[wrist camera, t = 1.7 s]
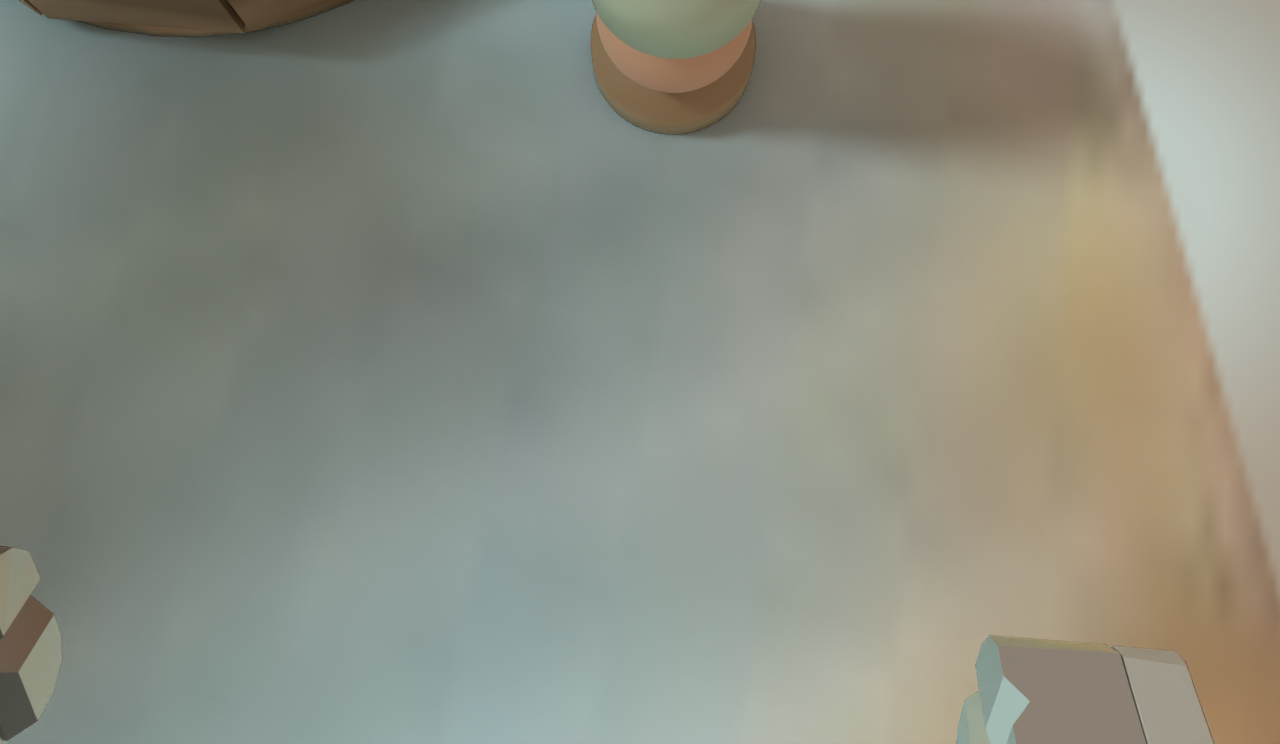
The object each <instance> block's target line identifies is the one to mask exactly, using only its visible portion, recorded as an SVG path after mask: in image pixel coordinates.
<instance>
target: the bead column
mask: <svg viewBox="0 0 1280 744" xmlns="http://www.w3.org/2000/svg"><path fill="white" fill-rule="evenodd" d="M592 2H593V5H594V7H595V10H596V15H595V18H594V22H593V25H592V31H591V52H592V61H593V70H594V74H595V78H596V82H597V84H598V87H599V89H600V91H601V93H602V95H603V96H604V98H605V100H606V101H607V102H608V104H609V105H610V106H611V107H612V108H613V109H614V110H615V111H616V112H617V113H618V114H619V115H620V116H621V117H623V118H624V119H625V120H626V121H628V122H630V123H632V124H633V125H635V126H637V127H640V128H642V129H644V130H648V131H651V132H655V133H661V134H684V133H690V132H694V131H698V130H700V129H703V128H706V127H708V126H710V125H712V124H713V123H715V122H717V121H718V120H720V119H721V118H722V117H724V116H725V115H726V114H727V113H728V112H729V111H730V110H732V108H733V107H734V106H735V105H736V104H737V102H738V101H739V100H740V98H741V96H742V95H743V93H744V91H745V89H746V87H747V84H748V81H749V78H750V74H751V70H752V65H753V61H754V55H755V48H756V36H755V28H754V24H753V16H754V15H755V13H756V11H757V9H758V7H759V4H760V2H761V0H592Z"/></svg>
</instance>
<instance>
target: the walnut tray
mask: <svg viewBox="0 0 1280 744" xmlns="http://www.w3.org/2000/svg"><path fill="white" fill-rule="evenodd" d="M20 1H21V2H22V3H24V4H25V5H27V6H28V7H30V8H31V9H32V10H34V11H35V12H37V13H38V14H40V15H42V14H44V15H45V16H46V17H48V18H54V19H67V20H77V21H81V22H85V23H88V24H92V25H95V26H99V27H103V28H106V29H112V30H119V31H126V32H133V33H140V34H147V35H154V36H204V37H205V36H214V35H224V34H233V33H244V32H253V31H257V30H261V29H265V28H270V27H274V26H278V25H282V24H287V23H291V22H295V21H299V20H303V19H306V18H309V17H311V16H314V15H317V14H319V13H322V12H325V11H328V10H330V9H333V8H336V7H338V6H341V5H344V4H346V3H349V2H351V1H353V0H20Z"/></svg>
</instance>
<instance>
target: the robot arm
mask: <svg viewBox="0 0 1280 744" xmlns="http://www.w3.org/2000/svg"><path fill="white" fill-rule="evenodd" d="M40 579H41V578H40V575H39V573H38V571H37V568H36V566H35V564H34V561H33V559H32V557H31V554H30V552H29V551H26V550H22V549H18V548H13V547H5V546H0V744H8V743H7V741H8V740H9V739H11V738H12V737H14V736H15V735H17V734H18V733H20V732H21V731H23V730H24V729H26V728H27V727H29V726H30V725H32V724H33V723H35V722H36V721H38V719H39V717H40V715H41V714H42V712H43V710H44V708H45V707H46V705H47V703H48V701H49V699H50V698H51V696H52V694H53V692H54V689H55V685H56V681H57V677H58V673H59V669H60V665H61V661H62V646H61V633H60V630H59V627H58V624H57V621H56V618H55V616H54V614H53V613H52V612H51V611H49V610H48V609H47V608H46V607H45V606H43V605H42V604H41V603H40V602H39V601H37V600H36V599H35V598H34V597H33V596H31V595H30V594H31V593H32V591H33V590H34V588H35V587H36V585H37V584H38V582H39V581H40ZM975 667H976V673H977V679H978V686H979V691H978V692H976V693H975V694H973V695H972V696H970V697H969V698H967V699H966V700H965V701H964V705H963V709H962V713H961V717H960V720H959V724H958V731H957V741H956V744H1215V743H1214V741H1213V738H1212V735H1211V732H1210V729H1209V726H1208V724H1207V721H1206V718H1205V715H1204V712H1203V709H1202V707H1201V704H1200V701H1199V698H1198V695H1197V692H1196V690H1195V687H1194V684H1193V681H1192V678H1191V675H1190V673H1189V670H1188V667H1187V664H1186V662H1185V660H1184V659H1183V658H1182V657H1181V656H1180V655H1179V654H1178V653H1177V652H1176V651H1169V650H1158V649H1146V648H1135V647H1123V646H1111V647H1109V646H1108V645H1106V644H1094V643H1081V642H1069V641H1056V640H1044V639H1031V638H1019V637H1006V636H994V635H989V636H988V637H987V638H986V640H985V641H984V642H983V644H982V646H981V649H980V652H979V655H978V658H977V661H976V664H975Z"/></svg>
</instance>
